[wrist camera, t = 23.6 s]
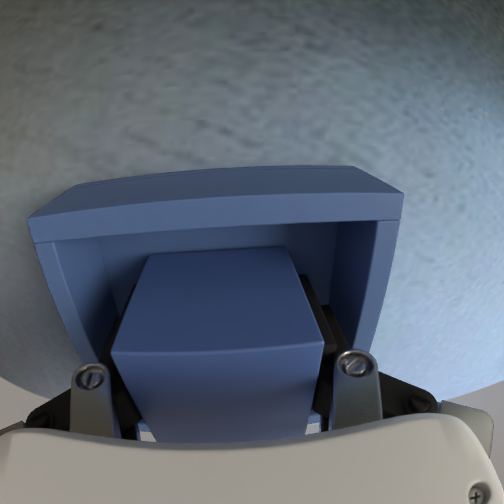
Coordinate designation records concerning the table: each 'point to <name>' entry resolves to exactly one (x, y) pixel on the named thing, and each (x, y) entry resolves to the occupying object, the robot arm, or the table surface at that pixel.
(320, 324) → the robot arm
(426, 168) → the table surface
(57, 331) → the table surface
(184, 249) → the blue bin
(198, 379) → the blue block
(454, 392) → the table surface
